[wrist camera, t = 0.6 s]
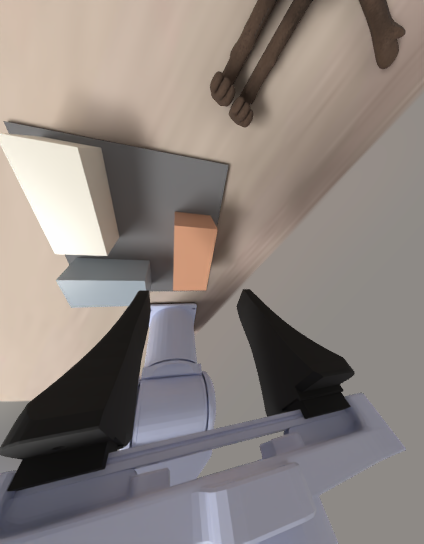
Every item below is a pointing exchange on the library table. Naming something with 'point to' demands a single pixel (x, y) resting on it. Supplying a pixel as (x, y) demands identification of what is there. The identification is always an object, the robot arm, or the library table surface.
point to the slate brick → (104, 281)
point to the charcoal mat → (149, 198)
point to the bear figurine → (222, 83)
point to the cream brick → (65, 192)
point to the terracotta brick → (192, 250)
